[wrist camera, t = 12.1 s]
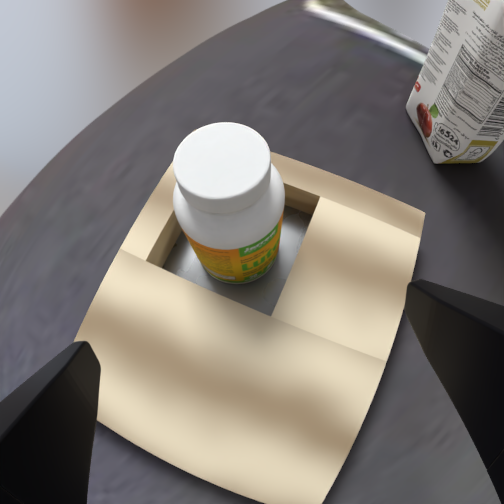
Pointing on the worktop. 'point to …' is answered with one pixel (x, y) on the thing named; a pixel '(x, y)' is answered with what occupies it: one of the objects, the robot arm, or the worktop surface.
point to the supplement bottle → (229, 201)
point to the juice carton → (462, 84)
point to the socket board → (255, 338)
